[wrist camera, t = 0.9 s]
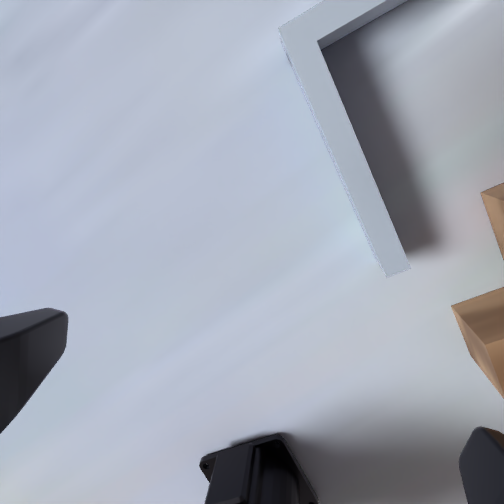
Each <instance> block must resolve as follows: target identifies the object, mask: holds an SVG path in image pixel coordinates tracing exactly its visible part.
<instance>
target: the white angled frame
mask: <svg viewBox="0 0 504 504" xmlns="http://www.w3.org/2000/svg"><path fill="white" fill-rule="evenodd" d="M405 1H407V0H324V1H322V2H320V3H319V4H317V5H315V6H314V7H312V8H310V9H309V10H307V11H305V12H304V13H302V14H301V15H299V16H297V17H296V18H294V19H292V20H291V21H289V22H287V23H286V24H284V25H282V26H281V27H279V28H278V29H279V34H280V39H281V43H282V45H283V47H284V50H285V52H286V54H287V57H288V59H289V61H290V64H291V66H292V68H293V70H294V73H295V75H296V77H297V80H298V82H299V84H300V86H301V89H302V91H303V93H304V96H305V98H306V100H307V102H308V105H309V107H310V109H311V112H312V114H313V116H314V118H315V121H316V123H317V125H318V128H319V130H320V132H321V134H322V137H323V139H324V141H325V144H326V146H327V148H328V150H329V153H330V155H331V157H332V160H333V162H334V164H335V166H336V169H337V171H338V173H339V176H340V178H341V180H342V182H343V185H344V187H345V189H346V192H347V194H348V196H349V198H350V201H351V203H352V205H353V208H354V210H355V212H356V215H357V217H358V219H359V221H360V224H361V226H362V228H363V231H364V233H365V235H366V237H367V240H368V242H369V244H370V247H371V249H372V251H373V253H374V256H375V258H376V260H377V262H378V264H379V266H380V267H381V269H382V270H383V272H384V274H385V275H386V277H387V278H388V277H391V276H393V275H396V274H398V273H401V272H403V271H406V270H408V269H411V267H410V264H409V262H408V260H407V257H406V255H405V252H404V250H403V247H402V245H401V243H400V240H399V238H398V235H397V233H396V231H395V228H394V226H393V223H392V221H391V219H390V216H389V214H388V211H387V209H386V207H385V204H384V202H383V199H382V197H381V195H380V192H379V190H378V187H377V185H376V183H375V180H374V178H373V175H372V173H371V171H370V168H369V166H368V163H367V161H366V159H365V156H364V154H363V151H362V149H361V146H360V144H359V142H358V139H357V137H356V134H355V132H354V130H353V127H352V125H351V122H350V120H349V118H348V115H347V113H346V110H345V108H344V106H343V103H342V101H341V98H340V96H339V94H338V91H337V89H336V86H335V84H334V82H333V79H332V77H331V74H330V72H329V70H328V67H327V65H326V62H325V60H324V57H323V55H322V53H321V50H322V49H323V48H325V47H327V46H329V45H330V44H332V43H334V42H336V41H337V40H339V39H341V38H343V37H344V36H346V35H348V34H350V33H351V32H353V31H355V30H357V29H358V28H360V27H362V26H364V25H365V24H367V23H369V22H371V21H372V20H374V19H376V18H378V17H379V16H381V15H383V14H385V13H386V12H388V11H390V10H392V9H393V8H395V7H397V6H398V5H400V4H402V3H404V2H405Z"/></svg>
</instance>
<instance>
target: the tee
mask: <svg viewBox="0 0 504 504" xmlns="http://www.w3.org/2000/svg"><path fill="white" fill-rule="evenodd" d="M481 196H482V199H483V201H484V204H485V207H486V210H487V213H488V216H489V219H490V222H491V225H492V228H493V231H494V233H495V236H496V239H497V242H498V245H499V248H500V251H501V254H502V257H503V260H504V183H502V184H500V185H498V186H495V187H493V188H490V189H488V190H486V191H483V192H481ZM451 307H452V310H453V312H454V315H455V317H456V320H457V322H458V325H459V327H460V330H461V332H462V335H463V337H464V340H465V342H466V345H467V347H468V350H469V352H470V355H471V357H472V358H473V359H474V361H475V362H476V363H477V364H478V366H479V367H480V368H481V370H482V371H483V372H484V374H485V375H486V376H487V377H488V379H489V380H490V381H491V383H492V384H493V385H494V387H495V388H496V389H497V391H498V392H499V393H500V394H501V396H502V397H503V398H504V287H502V288H499V289H497V290H494V291H491V292H488V293H485V294H483V295H480V296H477V297H474V298H471V299H469V300H466V301H463V302H460V303H457V304H455V305H452V306H451Z"/></svg>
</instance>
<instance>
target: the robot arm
mask: <svg viewBox="0 0 504 504" xmlns="http://www.w3.org/2000/svg"><path fill="white" fill-rule="evenodd" d="M67 330H68V315H67V314H66V312H63V311H60V310H56V309H53V308H44V309H39V310H34V311H29V312H24V313H20V314H15V315H10V316H5V317H0V433H1V432H2V431H3V430H4V429H5V428H6V427H7V426H8V425H9V424H10V422H11V421H12V420H13V419H14V418H15V417H16V416H17V414H18V413H19V412H20V411H21V409H22V408H23V407H24V406H25V404H26V403H27V402H28V400H29V399H30V398H31V396H32V395H33V394H34V392H35V391H36V390H37V388H38V387H39V386H40V384H41V383H42V382H43V380H44V379H45V378H46V376H47V375H48V374H49V372H50V371H51V369H52V368H53V367H54V365H55V364H56V363H57V361H58V360H59V359H60V357H61V356H62V354H63V353H64V350H65V348H66V342H67ZM275 442H278V444H277V443H275ZM199 466H200V469H201V470H202V472H203V473H204V475H205V476H206V478H207V480H208V481H209V483H210V484H209V488H208V492H207V496H206V500H205V504H319V502H318V497H317V496H316V494H315V492H314V490H313V488H312V487H311V485H310V483H309V481H308V480H307V478H306V476H305V474H304V473H303V471H302V469H301V467H300V466H299V464H298V462H297V460H296V459H295V457H294V455H293V453H292V452H291V450H290V448H289V446H288V445H287V443H286V441H285V439H284V438H283V437H282V436H281V435H272V436H269V437H266V438H262V439H259V440H256V441H253V442H249V443H246V444H243V445H240V446H236V447H233V448H230V449H227V450H224V451H220V452H217V453H214V454H211V455H207V456H204V457H202V459H201V461H200V465H199ZM459 468H460V473H461V477H462V481H463V485H464V489H465V493H466V497H467V502H468V504H504V434H502V433H501V432H499V431H496V430H492V429H489V428H485V427H477V428H475V429H474V430H473V432H472V434H471V436H470V437H469V439H468V441H467V443H466V445H465V447H464V449H463V451H462V453H461V455H460V458H459Z"/></svg>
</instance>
